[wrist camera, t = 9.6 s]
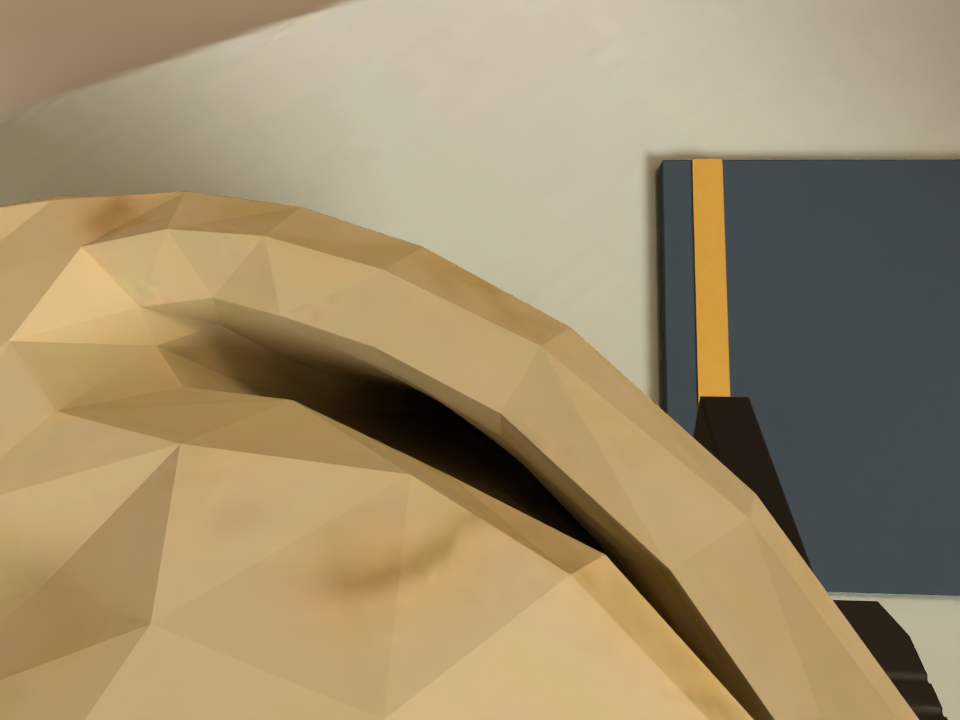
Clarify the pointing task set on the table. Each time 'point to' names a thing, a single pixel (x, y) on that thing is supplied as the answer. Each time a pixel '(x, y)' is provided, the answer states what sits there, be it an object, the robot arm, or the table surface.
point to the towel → (829, 347)
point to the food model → (362, 495)
